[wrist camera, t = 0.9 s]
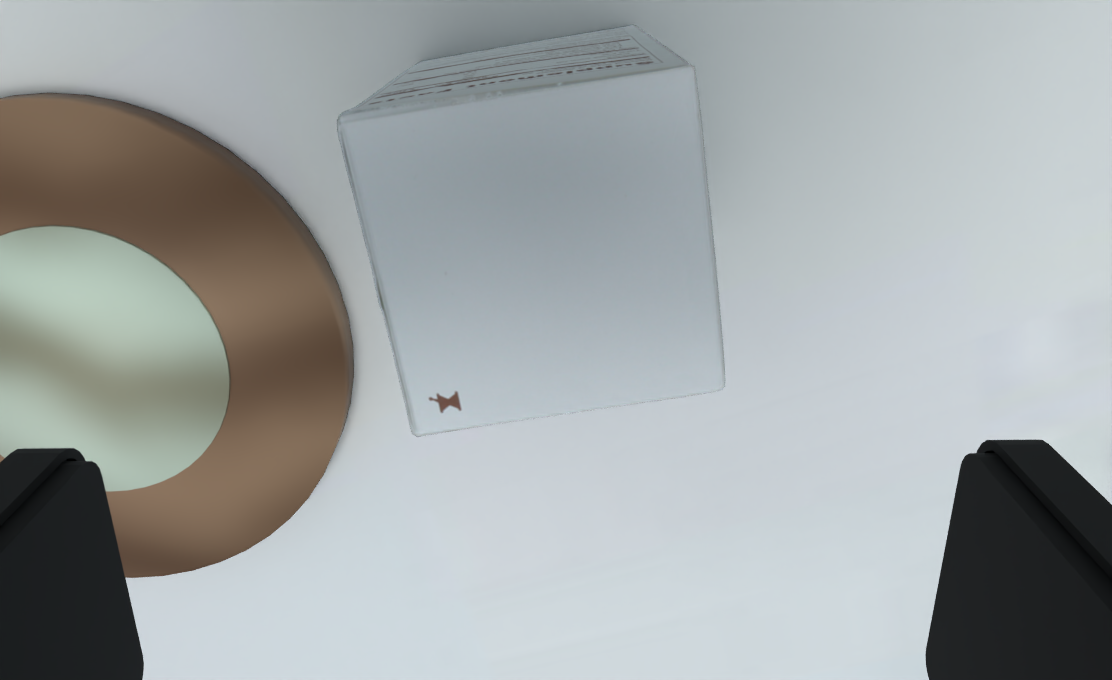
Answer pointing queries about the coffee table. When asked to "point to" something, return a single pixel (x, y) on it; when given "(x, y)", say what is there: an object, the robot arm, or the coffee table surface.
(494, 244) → the supplement box
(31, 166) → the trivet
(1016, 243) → the coffee table surface
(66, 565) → the robot arm
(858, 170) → the coffee table surface
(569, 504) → the coffee table surface
